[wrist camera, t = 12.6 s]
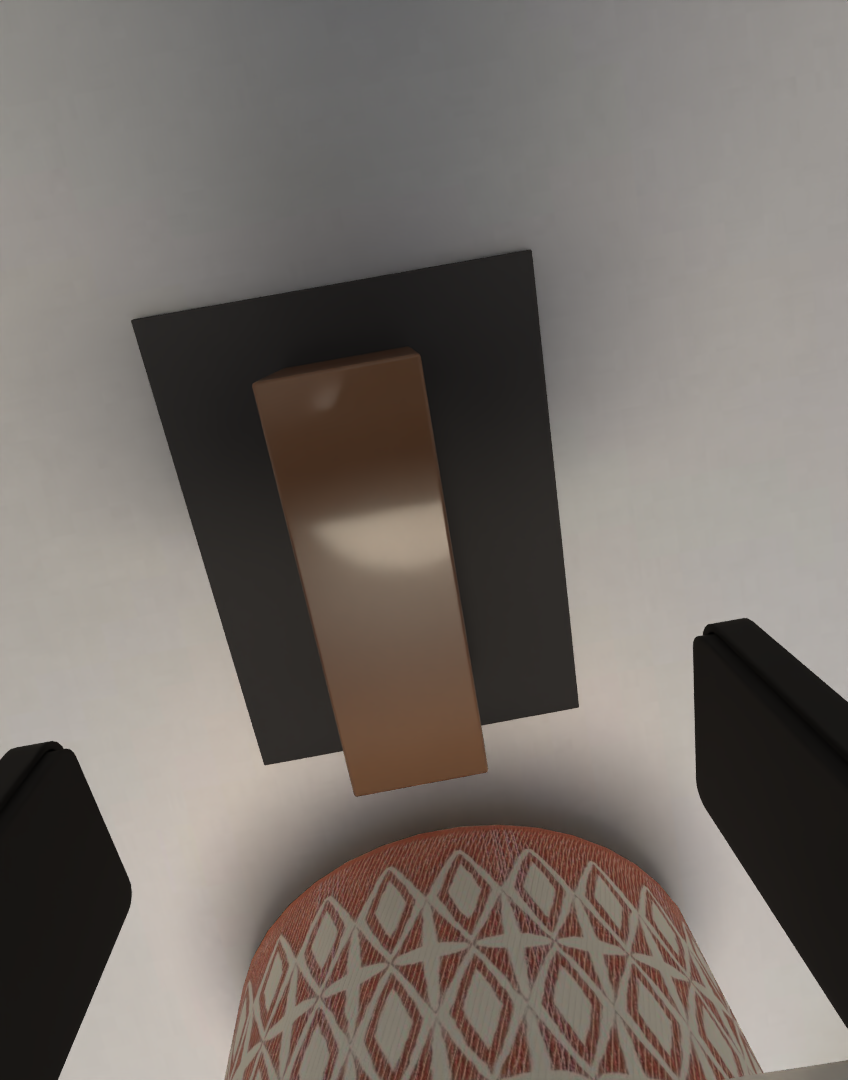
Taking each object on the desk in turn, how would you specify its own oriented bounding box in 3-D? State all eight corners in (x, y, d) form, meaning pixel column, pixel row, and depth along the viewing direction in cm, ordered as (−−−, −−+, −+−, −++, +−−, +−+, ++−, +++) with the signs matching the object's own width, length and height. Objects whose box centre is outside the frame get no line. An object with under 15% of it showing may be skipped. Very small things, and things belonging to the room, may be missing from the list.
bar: (280, 368, 20) (250, 383, 15) (410, 345, 20) (420, 352, 15) (359, 703, 24) (354, 798, 19) (466, 683, 24) (488, 773, 19)
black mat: (133, 320, 19) (130, 319, 19) (529, 250, 19) (531, 249, 19) (265, 760, 24) (264, 765, 24) (577, 703, 25) (579, 707, 24)
